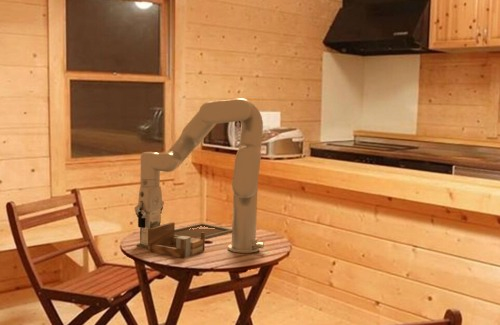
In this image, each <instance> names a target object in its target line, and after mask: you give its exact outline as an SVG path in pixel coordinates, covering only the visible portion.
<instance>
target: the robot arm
mask: <svg viewBox="0 0 500 325" xmlns="http://www.w3.org/2000/svg"><path fill="white" fill-rule="evenodd" d="M235 122H240V123H241V124H240V125H241V127H240V128H241V130H240V138H239V145H238V146H239V147H238V150H237V152H236V155H235V159H234V168H233V176H232V183H231V187H232V191H233V194H232V196H233V198H232V221H231V222H232V225H231V229H232V232H231V243H230V244H228V245H227V250H229V251H230V252H234V253H238V254H239V253H240V254H249V253H250V254H252V253H257V252H258V251H259V250H261V249H264V247H265V245H264V244H265V243H264V242H260V241H259V238H257V216H258V215H257V210H258V190H259V189H258V187H259V175H260V167H261V160H262V154H261V152H262V150H261V149H262V141H263V131H264V130H263V129H264V122H263V117H262V114H261V112H260V110H259V109H258V107H257V106H256V105H255V104H253V103H252V102H251V101H249V100H248V99H246V98H233V99H232V98H231V99H226V100H225V99H224V100H223V99H222V100H215V101H214V100H213V101H206V102H204V103H203V104H202V105H201V106H200V108H199V110H198V111H197V112H196V113H195V115H194V116H193V117H192V118H191V120H190V121H189V122H188V123H187V124H186V125H185V126H184V127H183V129H182V131H181V134H180V136H179V137H178V138H177V140H176V141H175V142H174V143H173V145H171V147H170V148H169V150H167V151H166V152H165V153H164V152H163V153H159V152H157V151H155V152H154V151H145V152H141V155H140V187H139V191H138V192H139V193H138V200H137V201H138V202H137V205H135V207H134V212H135V216H136V217H137V227H138V228H140V227H141V228H145V218H144V217H145V215H146V213H150V212H153V211H155V210H157V209H160V210H161V213H160V224H161V221H162V220H161V218H162V216H161V215H162V211H163V209H164V205H165V201H163V197H162V196H163V195H162V194H163V193H162V187H161V185H160V183H161V182H160V178H161V175H160V174H161V172H164V173H172V172H174V171H175V170H176V169H178V168H179V167H180V166H181V164H183V163H184V161H185V160H186V159H187V158H188V156H189V155H190V154H191V153H192V152H193V151H194V150H195V148H196V147H198V146H199V144H201V142H202V141H203V140H204V139H205V138H206V137H207V135H208V134H209V133H210V132H211V131H212V129H214V128H215V127H216V125H217V124H225V123H226V124H227V123H235ZM142 212H143V214H142Z"/></svg>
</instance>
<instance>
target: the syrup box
mask: <svg viewBox="0 0 500 325" xmlns="http://www.w3.org/2000/svg"><path fill="white" fill-rule="evenodd" d="M160 213H161V210H160V209H157V210H155V211H153V212H150V213H146V215H145V217H144V218H145V228H141V227H139V244H143V245H147V246H148V229H150V228H153V227H157V226H160V225H161V223H160ZM142 214H143V212H142ZM161 214H162V213H161Z"/></svg>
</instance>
